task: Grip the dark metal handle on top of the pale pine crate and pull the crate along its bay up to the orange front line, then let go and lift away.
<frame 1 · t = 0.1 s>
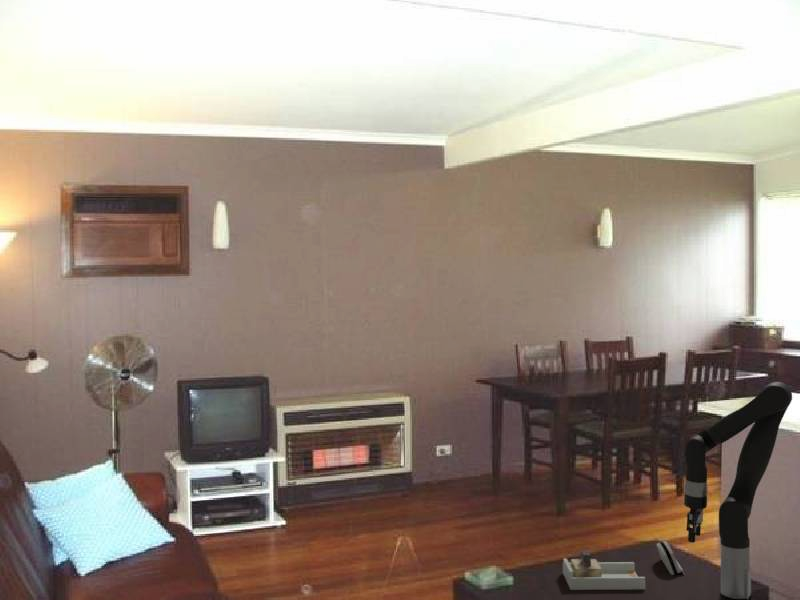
hand: (694, 538, 291), 17 cm above the table, tool pointing down, fingers open, 8 cm apart
crate: (586, 565, 299), point 6 cm above the table, slide at 0.0 cm
bay: (602, 581, 299), on the table
hinge: (669, 567, 312), on the table
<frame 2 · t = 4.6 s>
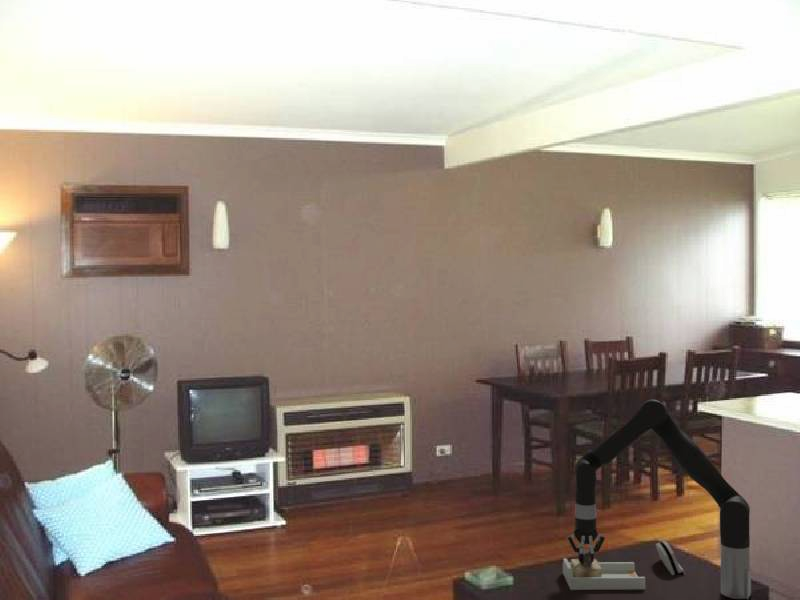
hand: (586, 563, 299), 7 cm above the table, tool pointing down, fingers closed on crate, 2 cm apart
crate: (586, 565, 299), point 6 cm above the table, slide at 0.0 cm, touching gripper
everything else where it was.
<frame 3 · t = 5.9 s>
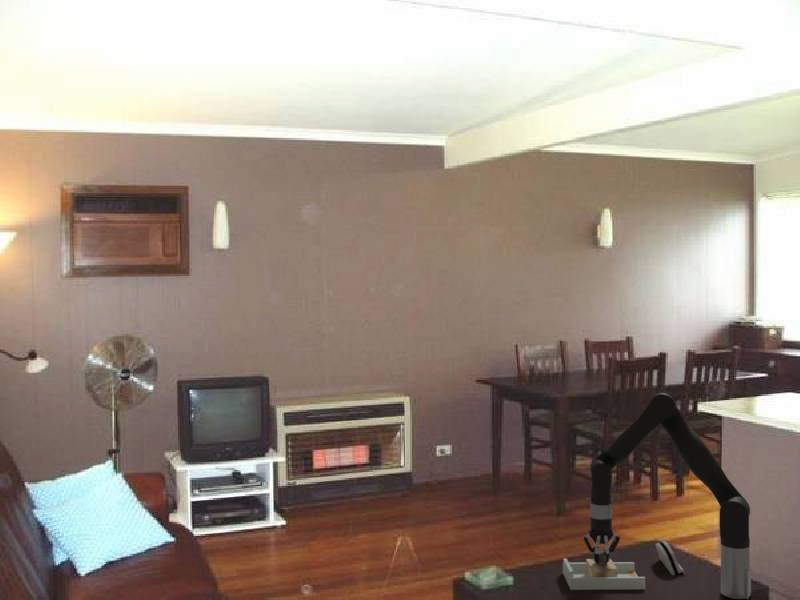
hand: (601, 562, 299), 7 cm above the table, tool pointing down, fingers closed on crate, 2 cm apart
crate: (601, 565, 299), point 6 cm above the table, slide at 5.5 cm, touching gripper
everything else where it was.
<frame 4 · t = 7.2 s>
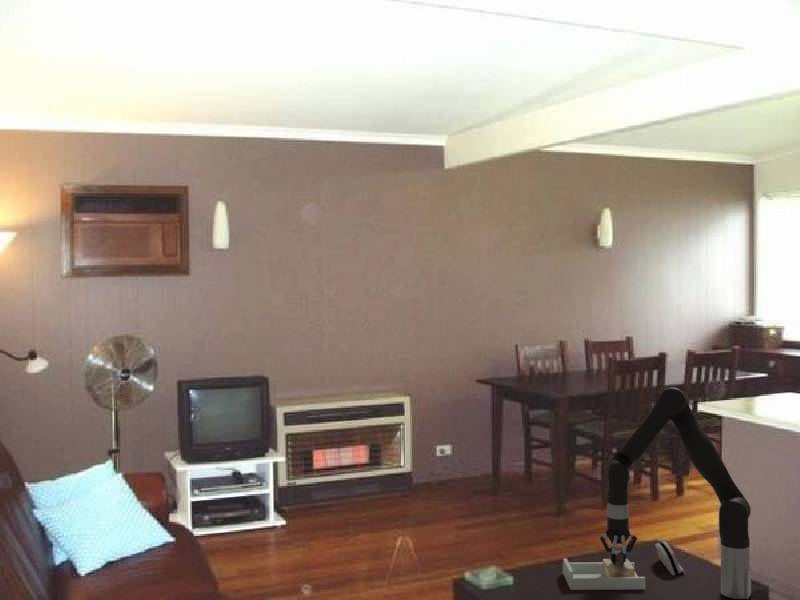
hand: (618, 562, 299), 7 cm above the table, tool pointing down, fingers closed on crate, 2 cm apart
crate: (618, 565, 299), point 6 cm above the table, slide at 11.5 cm, touching gripper
everything else where it was.
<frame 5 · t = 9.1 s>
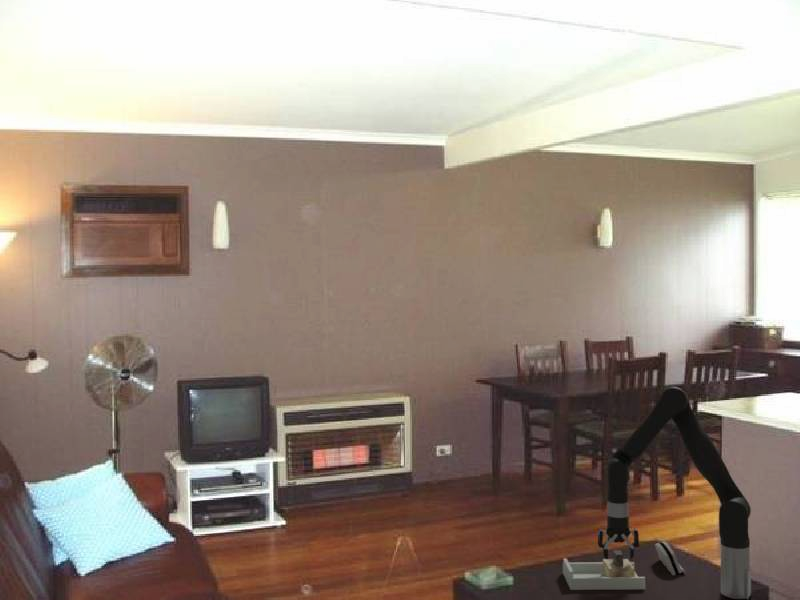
hand: (618, 558, 299), 8 cm above the table, tool pointing down, fingers open, 8 cm apart
crate: (618, 565, 299), point 6 cm above the table, slide at 11.5 cm
everything else where it was.
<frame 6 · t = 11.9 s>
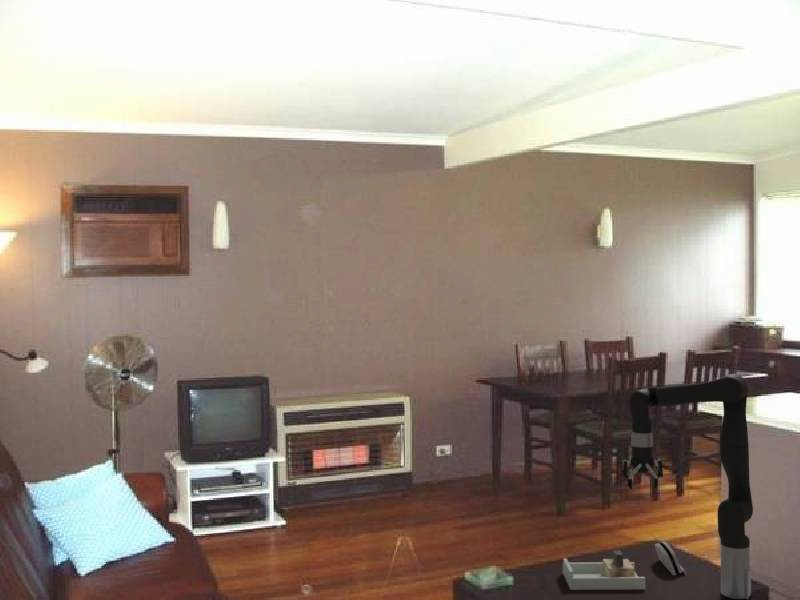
hand: (642, 488, 302), 32 cm above the table, tool pointing down, fingers open, 8 cm apart
nothing on the table moved.
at the end: crate slide at 11.5 cm; the gripper is holding nothing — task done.
